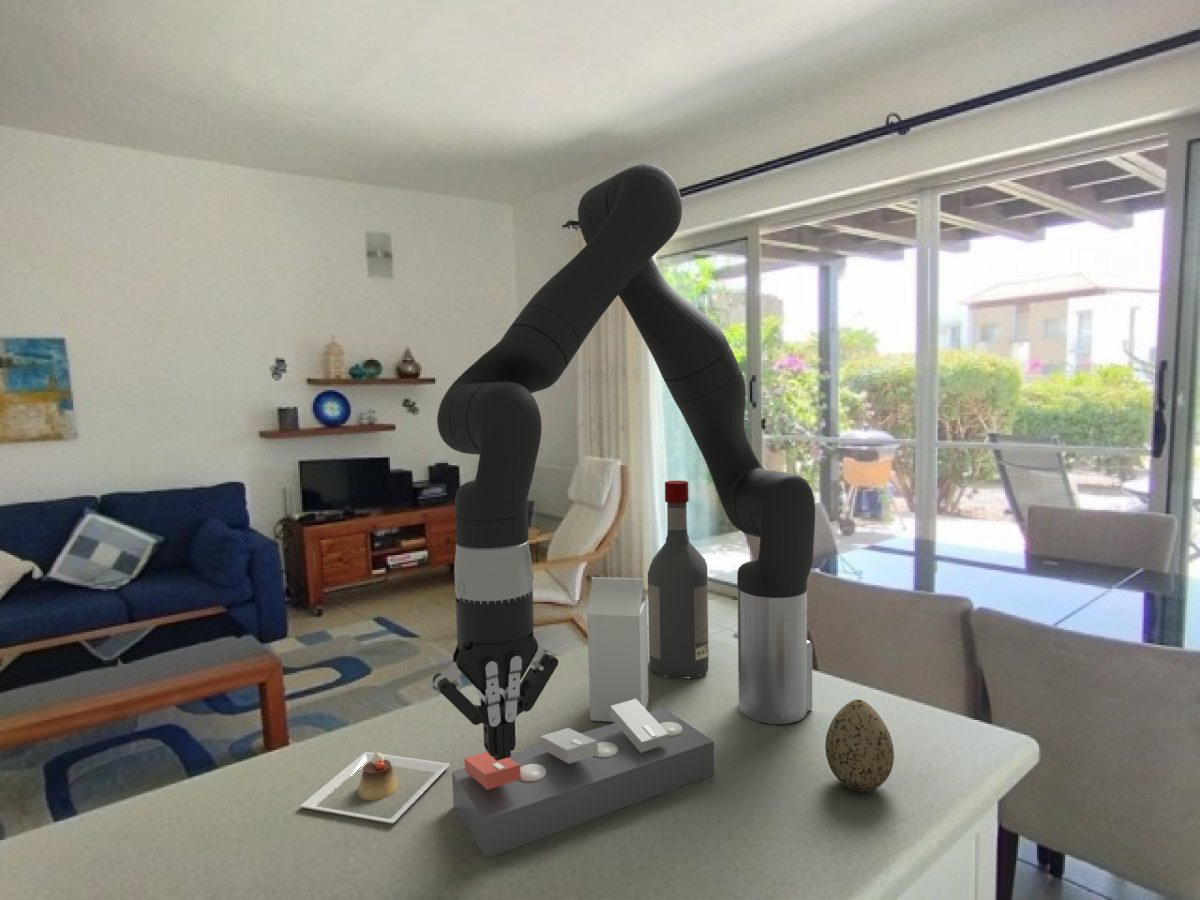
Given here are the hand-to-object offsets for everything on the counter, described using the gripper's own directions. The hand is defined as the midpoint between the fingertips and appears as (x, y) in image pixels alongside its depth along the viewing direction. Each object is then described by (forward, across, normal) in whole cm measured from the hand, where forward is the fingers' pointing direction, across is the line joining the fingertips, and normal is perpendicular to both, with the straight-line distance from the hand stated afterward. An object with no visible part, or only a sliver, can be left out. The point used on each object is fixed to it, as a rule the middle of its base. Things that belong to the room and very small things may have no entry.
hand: (499, 755), depth 71 cm
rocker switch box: (+9, -11, -3) cm, 15 cm away
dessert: (+10, +9, -16) cm, 21 cm away
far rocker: (+3, -18, -3) cm, 19 cm away
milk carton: (+9, -24, -18) cm, 31 cm away
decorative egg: (+9, -37, +12) cm, 40 cm away
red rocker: (+3, 0, -3) cm, 4 cm away
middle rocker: (+3, -9, -3) cm, 10 cm away
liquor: (+9, -40, -26) cm, 49 cm away
